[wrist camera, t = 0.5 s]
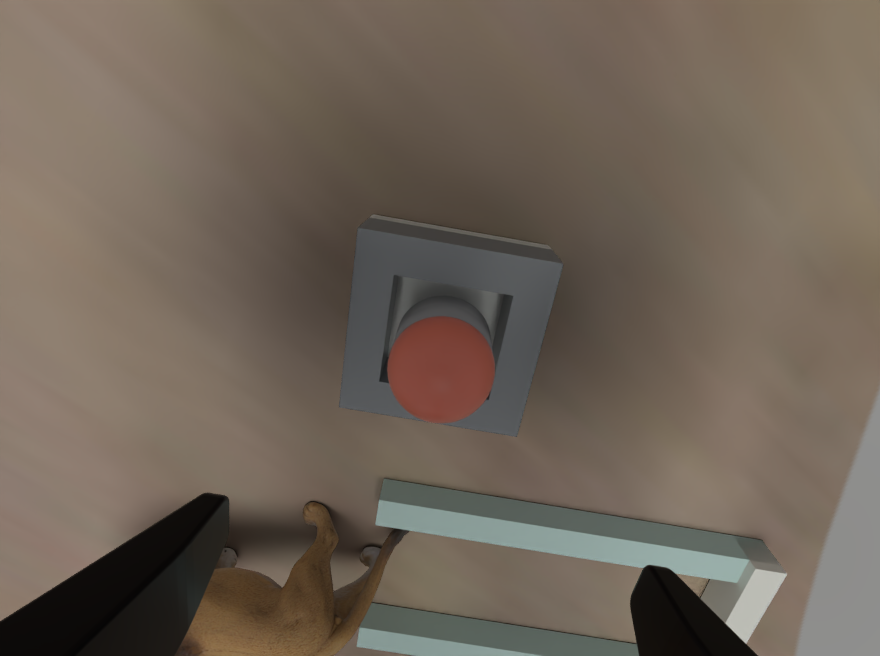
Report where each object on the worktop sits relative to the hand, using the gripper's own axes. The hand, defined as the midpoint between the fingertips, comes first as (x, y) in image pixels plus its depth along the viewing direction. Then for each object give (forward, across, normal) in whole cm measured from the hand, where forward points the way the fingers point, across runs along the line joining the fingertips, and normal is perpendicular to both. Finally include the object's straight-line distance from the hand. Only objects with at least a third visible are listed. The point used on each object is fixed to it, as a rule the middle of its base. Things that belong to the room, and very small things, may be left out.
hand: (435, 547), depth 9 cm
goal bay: (+12, -8, +14) cm, 20 cm away
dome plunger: (+9, 0, 0) cm, 9 cm away
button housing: (+12, 0, 0) cm, 12 cm away
